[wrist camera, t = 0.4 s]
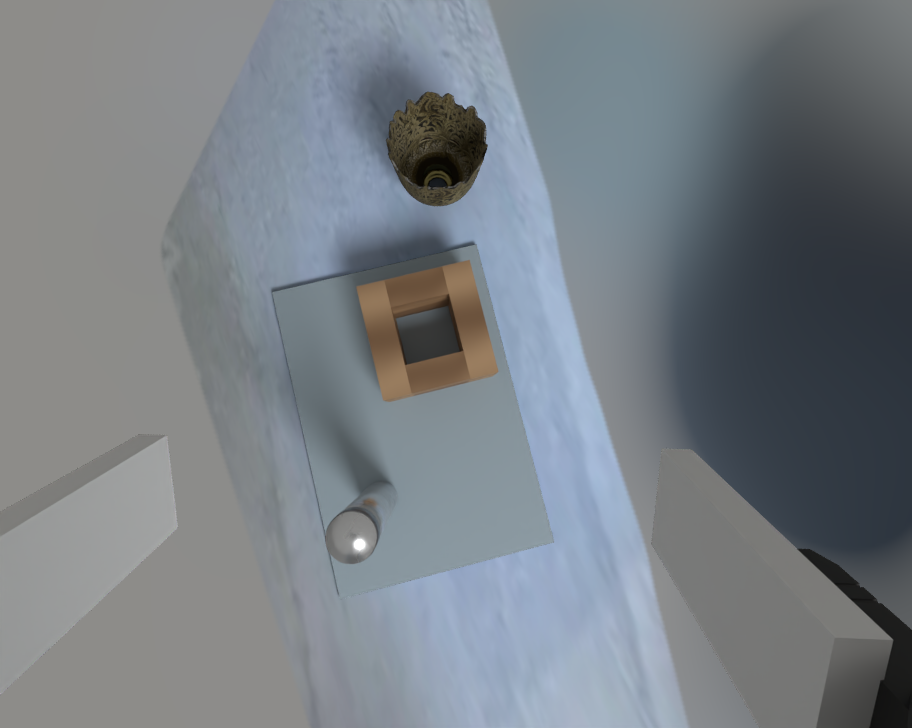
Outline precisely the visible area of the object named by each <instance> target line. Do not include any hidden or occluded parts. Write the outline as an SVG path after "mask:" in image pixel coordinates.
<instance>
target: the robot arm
mask: <svg viewBox="0 0 912 728" xmlns="http://www.w3.org/2000/svg"><path fill="white" fill-rule="evenodd" d="M177 528H178V524H177V516H176V507H175V499H174V490H173V481H172V473H171V465H170V456H169V448H168V439H167V435H144V434H139V435H137V436H135V437H134V438H132V439H130V440H128V441H126V442H125V443H123V444H121V445H119V446H117V447H116V448H114V449H112V450H110V451H108V452H107V453H105V454H103V455H101V456H100V457H98V458H96V459H94V460H92V461H90V462H89V463H87V464H85V465H83V466H81V467H80V468H78V469H76V470H74V471H73V472H71V473H69V474H67V475H65V476H63V477H62V478H60V479H58V480H56V481H54V482H53V483H51V484H49V485H48V486H46V487H44V488H42V489H40V490H38V491H36V492H35V493H33V494H31V495H29V496H28V497H26V498H24V499H22V500H20V501H18V502H17V503H15V504H13V505H11V506H10V507H8V508H6V509H4V510H3V511H1V512H0V695H1V694H2V693H3V692H4V691H5V690H6V689H7V688H8V687H9V686H11V685H12V683H14V682H15V681H16V680H17V679H18V678H19V677H20V676H21V675H22V674H23V673H24V672H25V671H26V670H27V669H29V668H30V667H31V666H32V665H33V664H34V663H35V662H36V661H37V660H38V659H39V658H40V657H41V656H42V655H43V654H44V653H46V652H47V651H48V650H49V649H50V648H51V647H52V646H53V645H54V644H55V643H56V642H57V641H58V640H59V639H60V638H61V637H62V636H64V635H65V634H66V633H67V632H68V631H69V630H70V629H71V628H72V627H73V626H74V625H75V624H76V623H77V622H78V621H80V619H82V618H83V617H84V616H85V615H86V614H87V613H88V612H89V611H90V610H91V609H92V608H93V607H94V606H95V605H96V604H97V603H99V602H100V601H101V600H102V599H103V598H104V597H105V596H106V595H107V594H108V593H109V592H110V591H111V590H112V589H113V588H115V587H116V586H117V585H118V584H119V583H120V582H121V581H122V580H123V579H124V578H125V577H126V576H127V575H128V574H129V573H130V572H132V571H133V570H134V568H136V567H137V566H138V565H139V564H140V563H141V562H142V561H143V560H144V559H145V558H146V557H147V556H148V555H150V554H151V553H152V552H153V551H154V550H155V549H156V548H157V547H158V546H159V545H160V544H161V543H162V542H163V541H164V540H166V538H168V537H169V536H170V535H171V534H172V533H173V532H174V531H175V530H176V529H177ZM651 544H652V546H653V548H654V549H655V551H656V553H657V555H658V556H659V558H660V560H661V561H662V563H663V565H664V566H665V568H666V570H667V571H668V573H669V575H670V577H671V578H672V580H673V582H674V583H675V585H676V587H677V588H678V590H679V592H680V594H681V595H682V597H683V599H684V600H685V602H686V604H687V606H688V607H689V609H690V610H691V612H692V614H693V616H694V617H695V619H696V621H697V623H698V624H699V626H700V628H701V629H702V631H703V633H704V634H705V636H706V638H707V640H708V641H709V643H710V645H711V646H712V648H713V650H714V651H715V653H716V655H717V657H718V658H719V660H720V662H721V663H722V665H723V667H724V669H725V670H726V672H727V674H728V675H729V677H730V679H731V680H732V682H733V683H734V685H735V687H736V689H737V691H738V692H739V694H740V696H741V697H742V699H743V701H744V703H745V704H746V706H747V708H748V709H749V711H750V713H751V714H752V716H753V718H754V720H755V721H756V723H757V725H758V726H759V728H912V630H911V629H910V628H909V627H908V626H907V625H906V624H904V623H903V622H902V621H901V620H900V619H899V618H898V617H896V616H895V615H894V614H893V613H892V612H891V611H890V610H888V609H887V608H886V607H885V606H884V605H883V604H881V603H878V602H877V599H876V598H875V597H874V596H873V595H871V594H870V593H869V592H868V591H867V590H866V589H865V588H864V587H860V586H859V583H858V582H857V581H856V580H854V579H853V578H852V577H851V576H850V575H849V574H848V573H847V572H845V571H844V570H843V569H842V568H841V567H840V566H839V565H837V564H835V563H833V562H832V561H830V560H828V559H826V558H825V557H823V556H821V555H819V554H817V553H816V552H814V551H812V550H810V549H796V548H795V547H794V546H793V545H792V544H791V543H790V542H789V541H788V540H787V539H786V538H785V537H784V536H783V535H782V534H781V533H779V532H778V531H777V530H776V529H775V528H774V527H773V526H772V525H771V524H770V523H769V522H768V521H767V520H766V519H765V518H764V517H762V516H761V515H760V514H759V513H758V512H757V511H756V510H755V509H754V508H753V507H752V506H751V505H750V504H749V503H747V501H746V500H744V499H743V498H742V497H741V496H740V495H739V494H738V493H737V492H736V491H735V490H734V489H733V488H732V487H731V486H730V485H729V484H727V483H726V482H725V481H724V480H723V479H722V478H721V477H720V476H719V475H718V474H717V473H716V472H715V471H714V470H713V469H712V468H710V467H709V466H708V465H707V464H706V463H705V462H704V461H703V460H702V459H701V458H700V457H699V456H698V455H697V454H696V453H695V452H694V451H693V450H686V449H662V451H661V461H660V469H659V478H658V487H657V496H656V505H655V514H654V524H653V533H652V542H651Z"/></svg>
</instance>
